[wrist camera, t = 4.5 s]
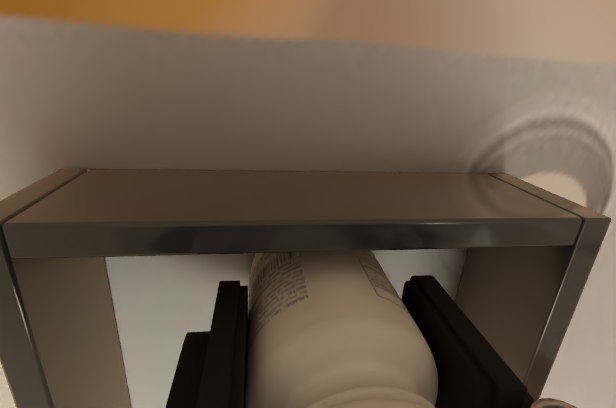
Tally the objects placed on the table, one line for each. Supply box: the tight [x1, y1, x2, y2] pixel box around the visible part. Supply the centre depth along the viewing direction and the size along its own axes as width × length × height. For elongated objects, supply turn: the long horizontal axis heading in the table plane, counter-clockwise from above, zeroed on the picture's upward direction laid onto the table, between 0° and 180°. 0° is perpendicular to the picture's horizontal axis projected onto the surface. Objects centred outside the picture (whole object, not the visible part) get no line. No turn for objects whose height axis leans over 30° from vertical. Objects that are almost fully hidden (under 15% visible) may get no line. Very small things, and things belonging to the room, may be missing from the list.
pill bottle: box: [245, 250, 438, 408], centre depth 9 cm, size 4×4×8 cm
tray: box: [0, 169, 611, 408], centre depth 12 cm, size 15×15×4 cm
